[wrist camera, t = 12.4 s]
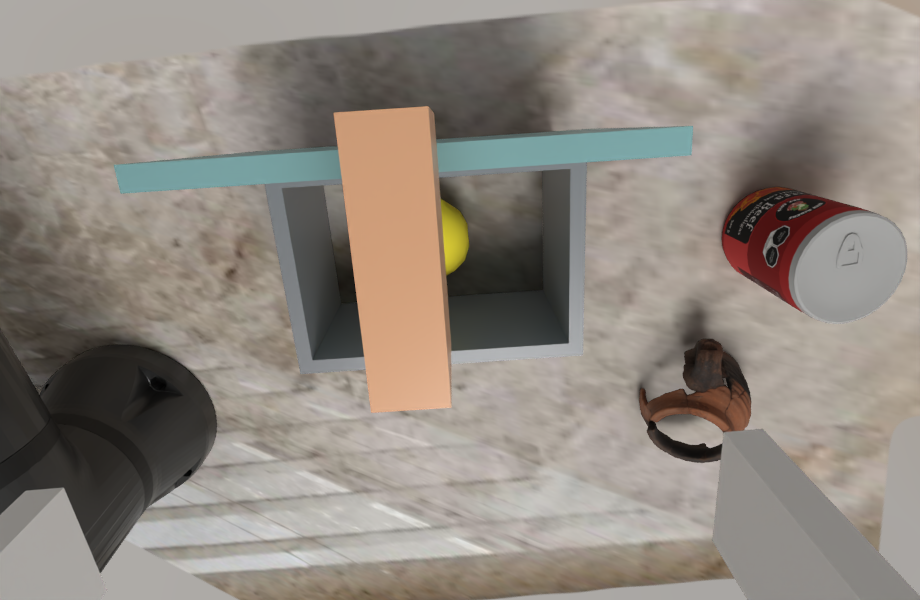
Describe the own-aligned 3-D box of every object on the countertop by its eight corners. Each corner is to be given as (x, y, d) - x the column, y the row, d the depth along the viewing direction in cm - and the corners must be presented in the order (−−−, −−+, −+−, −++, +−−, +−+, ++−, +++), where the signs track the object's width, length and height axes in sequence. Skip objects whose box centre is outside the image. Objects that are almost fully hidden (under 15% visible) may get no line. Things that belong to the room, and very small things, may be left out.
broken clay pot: (746, 408, 54) (746, 478, 48) (646, 395, 58) (634, 458, 52) (758, 314, 47) (759, 383, 41) (643, 307, 51) (630, 368, 45)
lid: (68, 432, 16) (-25, 136, 14) (274, 271, 35) (250, 134, 33) (755, 387, 16) (788, 81, 14) (591, 250, 35) (592, 111, 33)
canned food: (795, 169, 45) (898, 191, 35) (817, 252, 48) (919, 296, 37) (706, 210, 46) (780, 244, 36) (732, 289, 49) (809, 342, 38)
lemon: (467, 264, 48) (469, 293, 43) (405, 263, 48) (400, 292, 43) (470, 186, 45) (472, 208, 40) (403, 185, 44) (398, 207, 40)
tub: (331, 314, 49) (300, 373, 38) (306, 154, 44) (262, 172, 34) (554, 300, 49) (582, 355, 38) (554, 137, 44) (586, 151, 33)
